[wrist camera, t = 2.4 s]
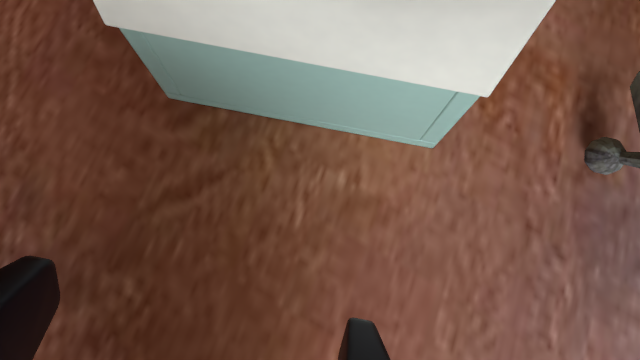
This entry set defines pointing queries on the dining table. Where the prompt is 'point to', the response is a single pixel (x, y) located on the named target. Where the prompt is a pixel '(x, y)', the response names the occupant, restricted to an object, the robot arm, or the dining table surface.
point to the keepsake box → (300, 90)
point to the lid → (354, 33)
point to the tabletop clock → (614, 145)
